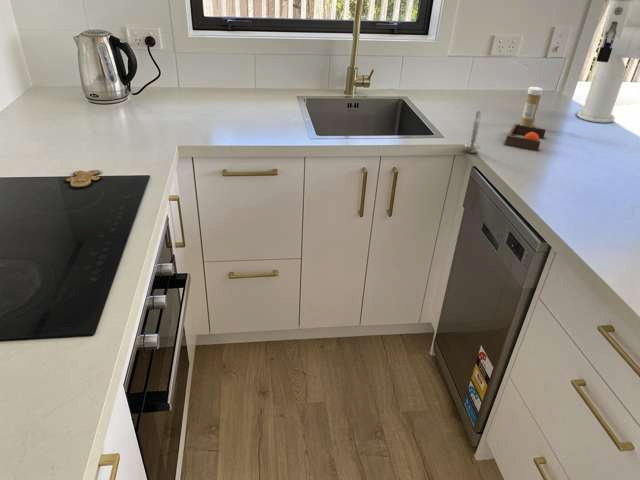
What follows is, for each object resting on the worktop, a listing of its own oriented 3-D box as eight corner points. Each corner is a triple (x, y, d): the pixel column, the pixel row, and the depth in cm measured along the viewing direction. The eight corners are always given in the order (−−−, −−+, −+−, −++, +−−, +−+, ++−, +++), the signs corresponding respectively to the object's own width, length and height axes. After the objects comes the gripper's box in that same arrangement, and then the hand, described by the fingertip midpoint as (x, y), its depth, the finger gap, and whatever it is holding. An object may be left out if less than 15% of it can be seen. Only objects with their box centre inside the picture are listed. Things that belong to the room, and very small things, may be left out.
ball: (530, 142, 157) (525, 130, 156) (543, 140, 154) (539, 128, 152) (523, 149, 155) (519, 137, 153) (537, 148, 152) (532, 135, 150)
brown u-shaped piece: (512, 132, 165) (514, 123, 164) (543, 137, 161) (546, 129, 160) (505, 144, 155) (507, 135, 154) (537, 150, 151) (540, 141, 150)
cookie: (103, 168, 130) (95, 183, 122) (104, 171, 131) (96, 187, 122) (70, 169, 129) (60, 185, 121) (71, 172, 130) (61, 188, 121)
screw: (482, 153, 148) (469, 155, 147) (472, 148, 152) (459, 150, 150) (491, 111, 141) (478, 113, 140) (480, 107, 145) (467, 108, 143)
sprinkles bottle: (535, 127, 171) (546, 88, 163) (527, 129, 168) (537, 90, 161) (524, 123, 174) (534, 85, 167) (516, 125, 172) (526, 87, 164)
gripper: (638, -3, 130) (615, 67, 140) (638, -7, 142) (616, 58, 151) (608, -5, 133) (587, 64, 143) (609, -9, 145) (590, 55, 154)
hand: (602, 61), depth 147 cm, fingers closed
